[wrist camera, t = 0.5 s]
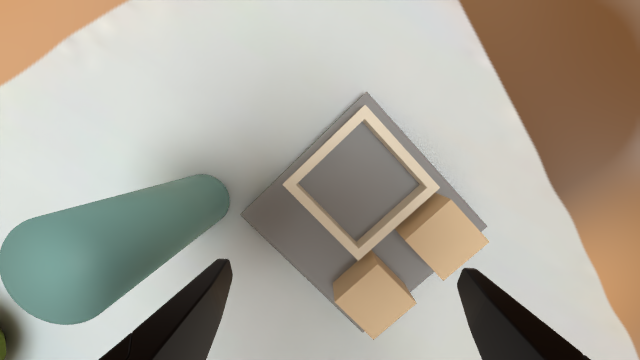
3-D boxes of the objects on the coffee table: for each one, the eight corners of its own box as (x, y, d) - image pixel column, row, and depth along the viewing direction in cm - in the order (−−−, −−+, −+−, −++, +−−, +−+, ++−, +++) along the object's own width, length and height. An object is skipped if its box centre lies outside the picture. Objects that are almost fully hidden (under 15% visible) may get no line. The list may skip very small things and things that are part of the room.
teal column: (205, 234, 25) (68, 345, 11) (167, 199, 25) (-25, 270, 11) (240, 200, 25) (141, 273, 11) (201, 163, 24) (47, 191, 10)
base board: (360, 324, 27) (368, 357, 23) (243, 211, 25) (229, 224, 21) (479, 222, 25) (511, 238, 21) (364, 94, 23) (374, 83, 19)
